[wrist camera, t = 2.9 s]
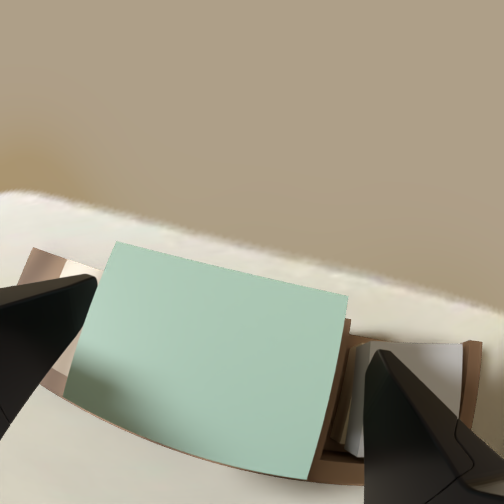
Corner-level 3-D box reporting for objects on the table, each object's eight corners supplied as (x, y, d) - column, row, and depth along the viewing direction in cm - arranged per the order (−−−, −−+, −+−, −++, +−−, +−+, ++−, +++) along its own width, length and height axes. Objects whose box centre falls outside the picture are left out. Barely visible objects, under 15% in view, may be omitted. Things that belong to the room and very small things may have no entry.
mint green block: (293, 351, 15) (348, 296, 6) (275, 423, 14) (306, 479, 5) (193, 325, 16) (116, 241, 7) (172, 395, 14) (62, 397, 5)
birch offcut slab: (426, 360, 15) (444, 355, 13) (411, 442, 13) (428, 447, 11) (349, 348, 15) (361, 342, 13) (329, 437, 13) (339, 443, 11)
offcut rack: (447, 354, 16) (485, 342, 12) (421, 480, 12) (456, 494, 9) (40, 252, 19) (10, 227, 15) (4, 354, 16) (-33, 343, 12)
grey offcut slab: (441, 350, 13) (462, 343, 11) (433, 442, 11) (454, 446, 9) (356, 347, 13) (370, 340, 12) (344, 448, 11) (357, 457, 10)
